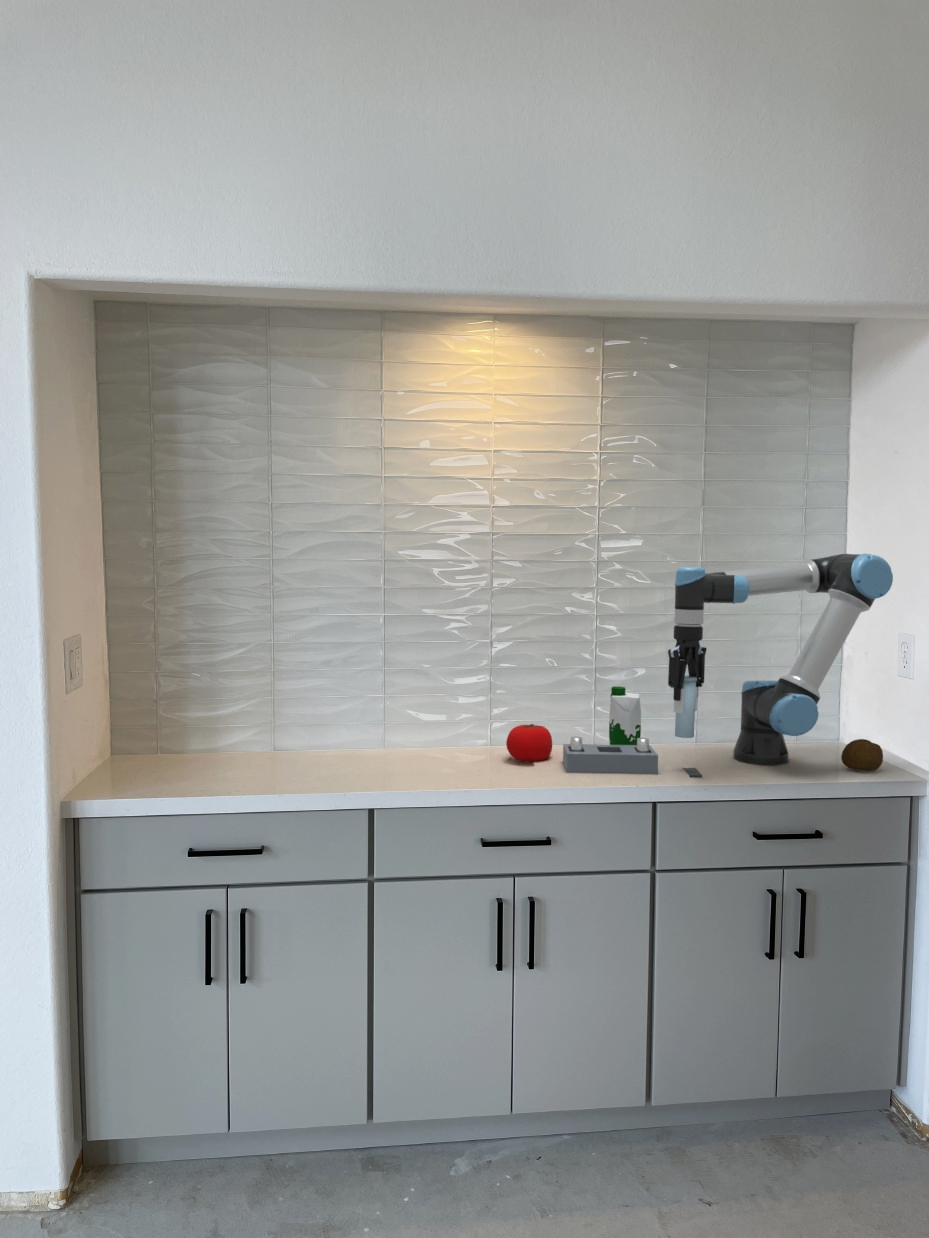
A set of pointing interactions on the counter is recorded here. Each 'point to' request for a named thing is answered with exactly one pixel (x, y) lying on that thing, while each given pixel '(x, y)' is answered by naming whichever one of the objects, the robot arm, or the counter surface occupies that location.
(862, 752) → the potato
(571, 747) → the plunger
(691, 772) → the mat
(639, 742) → the plunger
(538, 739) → the tomato
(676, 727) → the cartridge
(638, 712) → the milk carton
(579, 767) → the housing
